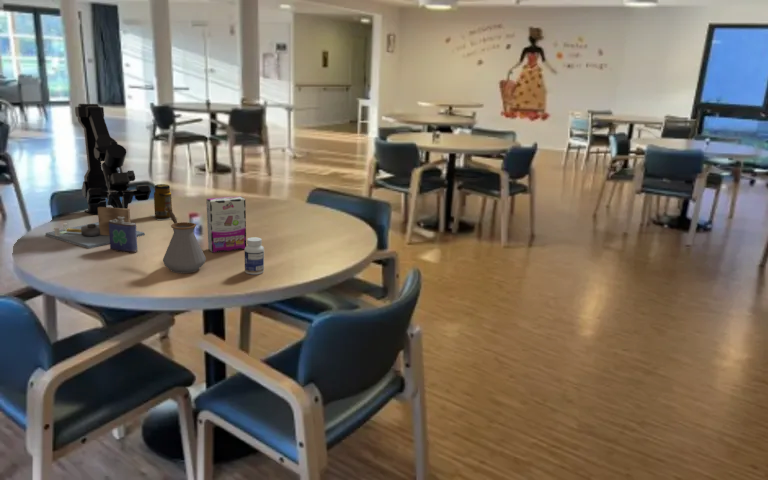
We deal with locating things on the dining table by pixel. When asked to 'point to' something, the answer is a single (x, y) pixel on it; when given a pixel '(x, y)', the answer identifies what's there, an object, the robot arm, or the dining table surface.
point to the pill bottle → (254, 256)
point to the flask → (122, 236)
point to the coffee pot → (183, 248)
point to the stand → (82, 237)
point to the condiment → (162, 202)
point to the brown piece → (103, 221)
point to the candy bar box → (226, 223)
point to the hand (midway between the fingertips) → (125, 216)
